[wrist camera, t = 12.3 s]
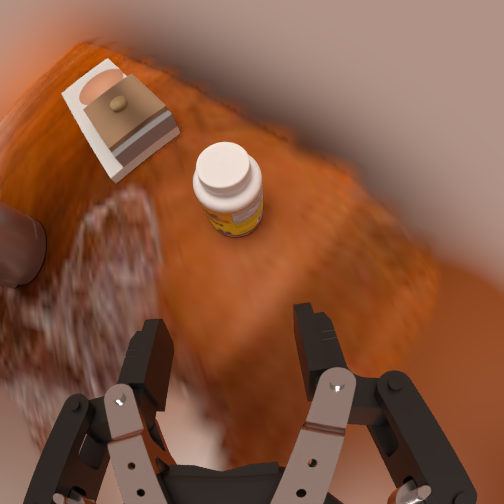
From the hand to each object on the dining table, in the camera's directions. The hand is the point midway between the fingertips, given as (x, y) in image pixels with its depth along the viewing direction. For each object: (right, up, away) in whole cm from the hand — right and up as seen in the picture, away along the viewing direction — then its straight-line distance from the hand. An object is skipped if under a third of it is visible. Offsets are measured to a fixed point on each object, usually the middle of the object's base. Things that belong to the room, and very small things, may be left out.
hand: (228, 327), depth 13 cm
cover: (-15, +20, +20) cm, 32 cm away
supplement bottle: (-1, +7, +18) cm, 19 cm away
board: (-20, +24, +22) cm, 38 cm away
